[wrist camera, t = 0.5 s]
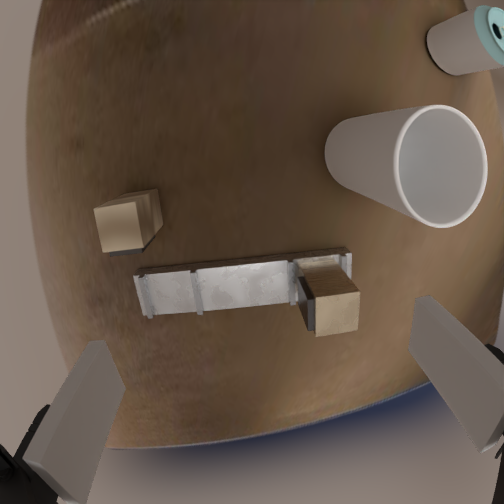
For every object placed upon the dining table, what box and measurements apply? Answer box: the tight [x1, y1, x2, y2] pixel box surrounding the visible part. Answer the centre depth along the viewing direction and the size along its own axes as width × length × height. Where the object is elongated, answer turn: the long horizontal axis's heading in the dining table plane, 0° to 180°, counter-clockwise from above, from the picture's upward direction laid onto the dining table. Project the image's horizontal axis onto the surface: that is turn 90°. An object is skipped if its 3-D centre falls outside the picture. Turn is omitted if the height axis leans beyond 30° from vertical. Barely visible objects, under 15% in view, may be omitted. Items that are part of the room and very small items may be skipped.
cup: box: [325, 105, 487, 228], centre depth 24 cm, size 8×8×16 cm
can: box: [427, 5, 504, 75], centre depth 22 cm, size 7×7×12 cm
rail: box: [133, 247, 360, 337], centre depth 31 cm, size 5×24×10 cm, turn 95°
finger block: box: [94, 189, 163, 257], centre depth 29 cm, size 5×4×8 cm
